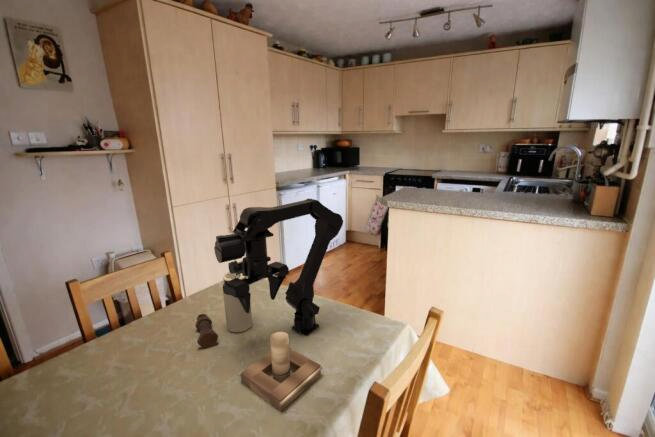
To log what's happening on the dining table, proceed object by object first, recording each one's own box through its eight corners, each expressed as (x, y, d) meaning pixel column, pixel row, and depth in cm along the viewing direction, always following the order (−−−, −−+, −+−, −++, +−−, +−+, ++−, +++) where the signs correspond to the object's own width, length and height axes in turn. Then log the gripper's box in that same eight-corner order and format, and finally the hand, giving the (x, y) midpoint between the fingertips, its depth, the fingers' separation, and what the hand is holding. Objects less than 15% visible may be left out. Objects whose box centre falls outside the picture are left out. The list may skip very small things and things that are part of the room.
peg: (277, 371, 81) (274, 330, 78) (293, 373, 80) (291, 332, 77) (269, 383, 77) (266, 341, 74) (286, 387, 76) (284, 344, 73)
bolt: (205, 327, 104) (212, 351, 91) (190, 323, 102) (195, 348, 89) (213, 311, 105) (220, 332, 92) (198, 307, 102) (204, 329, 89)
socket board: (281, 352, 88) (281, 342, 87) (322, 375, 79) (322, 365, 78) (239, 382, 77) (238, 372, 76) (281, 413, 68) (281, 402, 67)
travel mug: (229, 336, 96) (223, 282, 92) (225, 323, 103) (219, 273, 98) (255, 328, 99) (250, 277, 95) (249, 316, 106) (244, 268, 102)
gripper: (263, 240, 96) (266, 286, 100) (208, 257, 82) (215, 310, 86) (288, 246, 90) (291, 296, 93) (234, 267, 75) (239, 324, 79)
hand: (260, 305), depth 88 cm, fingers open, 9 cm apart
